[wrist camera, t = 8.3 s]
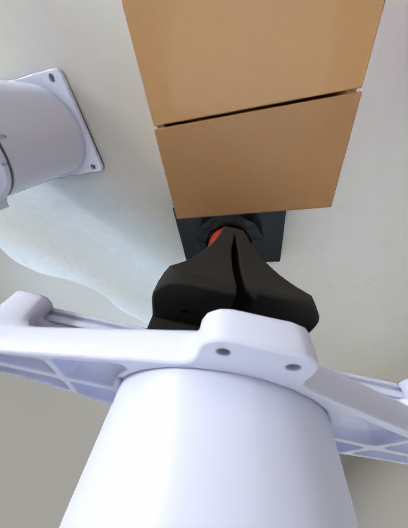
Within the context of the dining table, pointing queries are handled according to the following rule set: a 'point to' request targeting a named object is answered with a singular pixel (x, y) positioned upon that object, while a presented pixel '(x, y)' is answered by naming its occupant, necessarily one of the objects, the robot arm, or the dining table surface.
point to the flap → (247, 52)
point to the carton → (258, 156)
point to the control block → (253, 224)
